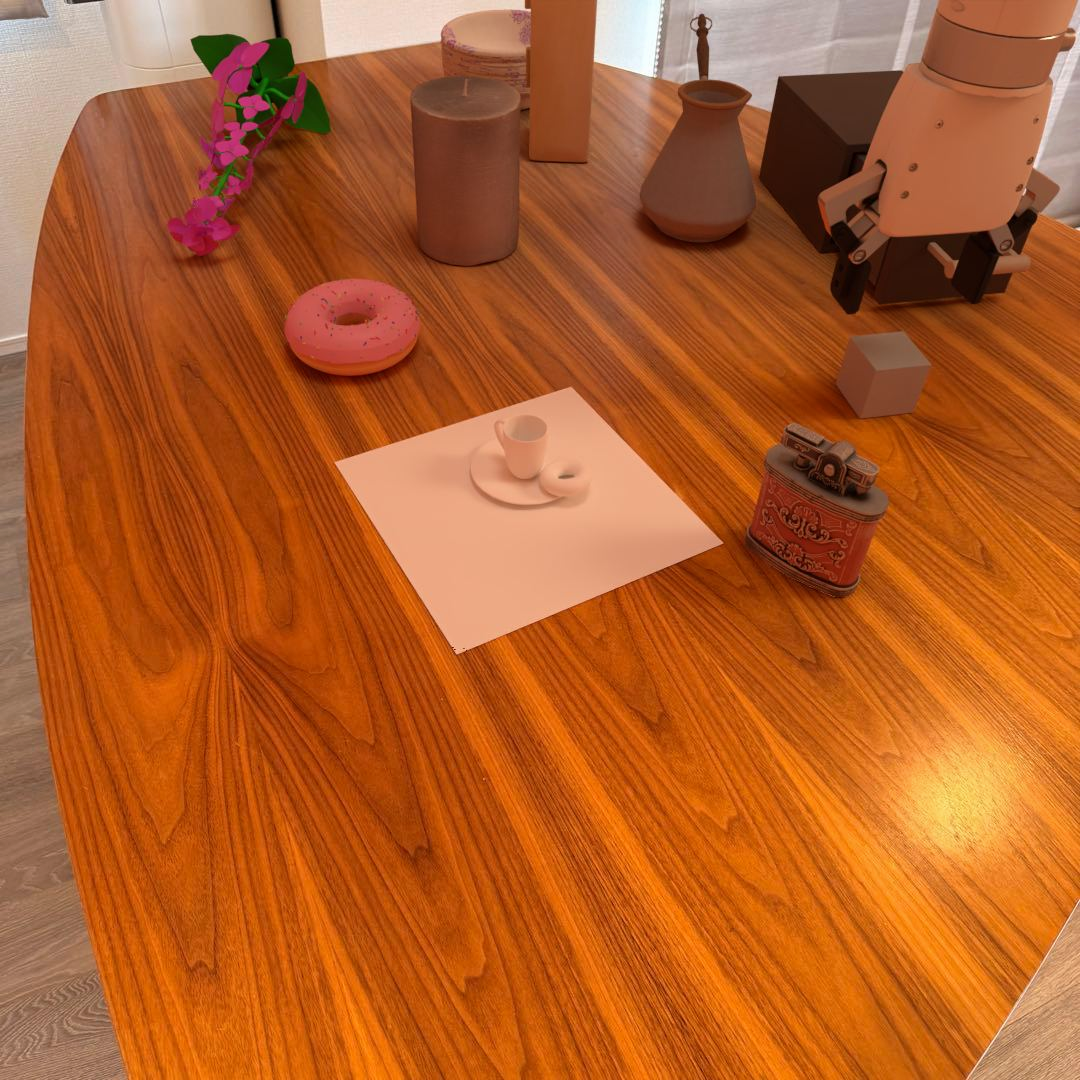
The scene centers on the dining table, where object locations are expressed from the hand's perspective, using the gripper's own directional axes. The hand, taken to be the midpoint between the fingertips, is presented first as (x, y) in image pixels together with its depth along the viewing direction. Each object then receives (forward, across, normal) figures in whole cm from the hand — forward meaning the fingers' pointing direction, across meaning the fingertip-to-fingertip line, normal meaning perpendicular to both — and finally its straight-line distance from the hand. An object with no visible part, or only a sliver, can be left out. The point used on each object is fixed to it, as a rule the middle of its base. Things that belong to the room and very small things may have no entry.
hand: (904, 299), depth 71 cm
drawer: (+8, -12, -17) cm, 23 cm away
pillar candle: (+10, +28, -30) cm, 42 cm away
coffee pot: (+9, +4, -35) cm, 36 cm away
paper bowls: (+9, +18, -65) cm, 68 cm away
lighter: (+9, +13, +16) cm, 22 cm away
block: (+9, 0, 0) cm, 9 cm away
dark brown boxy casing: (+9, -12, -31) cm, 35 cm away
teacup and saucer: (+10, +30, +7) cm, 32 cm away
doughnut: (+10, +40, -14) cm, 43 cm away
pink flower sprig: (+10, +48, -46) cm, 67 cm away
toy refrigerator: (+9, +15, -50) cm, 53 cm away
